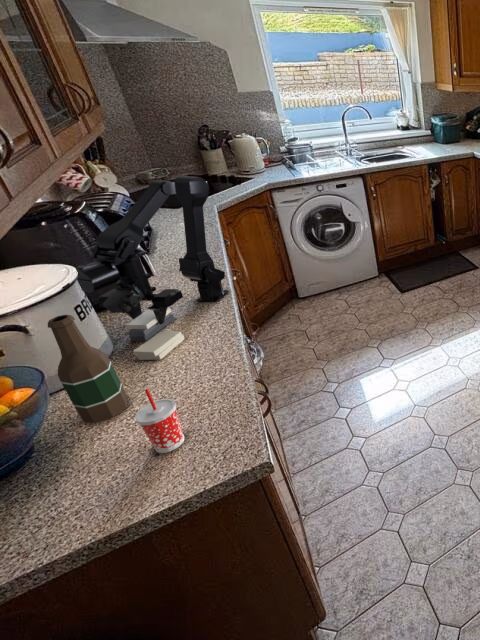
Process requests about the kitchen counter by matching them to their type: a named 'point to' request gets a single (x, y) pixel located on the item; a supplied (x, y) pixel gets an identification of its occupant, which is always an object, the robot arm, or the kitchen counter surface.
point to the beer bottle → (87, 374)
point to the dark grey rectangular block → (149, 330)
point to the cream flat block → (159, 345)
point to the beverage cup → (161, 424)
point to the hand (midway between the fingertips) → (151, 323)
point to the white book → (144, 320)
